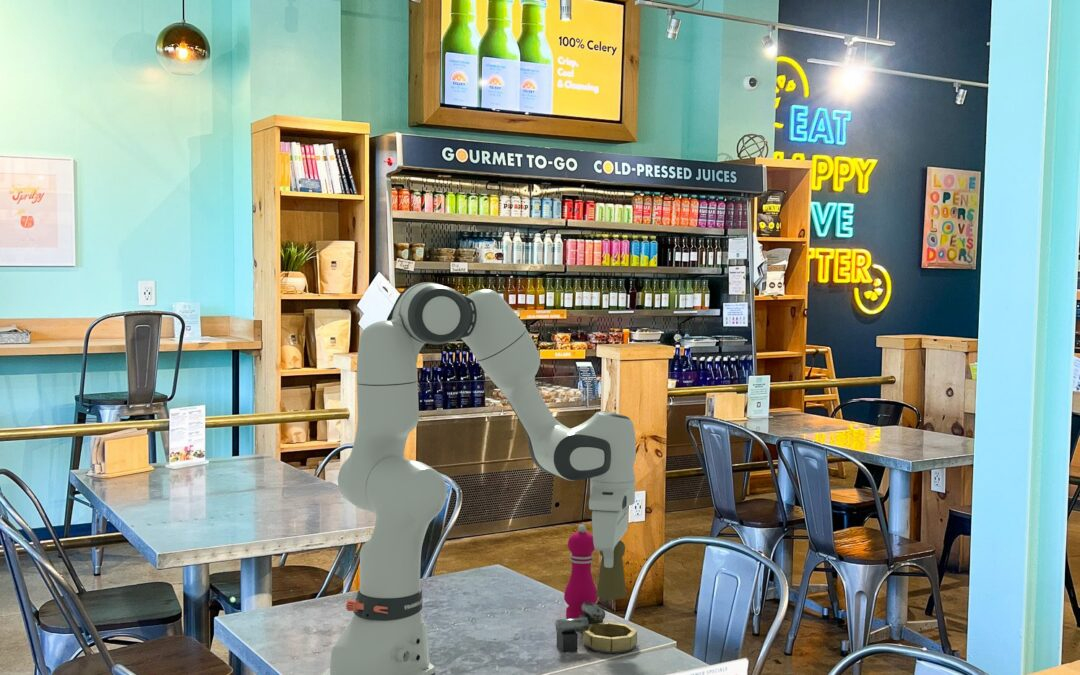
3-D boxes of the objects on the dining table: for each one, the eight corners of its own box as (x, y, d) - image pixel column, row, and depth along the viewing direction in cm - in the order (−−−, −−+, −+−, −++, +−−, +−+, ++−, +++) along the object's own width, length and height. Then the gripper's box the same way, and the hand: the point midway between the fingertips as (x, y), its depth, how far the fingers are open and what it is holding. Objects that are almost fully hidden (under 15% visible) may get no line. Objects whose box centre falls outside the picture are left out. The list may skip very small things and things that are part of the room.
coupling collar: (626, 657, 201) (626, 641, 201) (575, 649, 205) (576, 634, 205) (642, 641, 211) (643, 626, 211) (594, 634, 215) (594, 619, 215)
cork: (610, 601, 204) (611, 545, 203) (589, 594, 208) (590, 539, 208) (633, 595, 207) (633, 540, 207) (611, 589, 212) (612, 535, 212)
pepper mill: (603, 615, 228) (605, 524, 227) (585, 624, 222) (587, 529, 221) (575, 609, 232) (576, 519, 231) (557, 617, 226) (558, 525, 225)
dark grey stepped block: (560, 653, 203) (560, 623, 203) (554, 646, 207) (554, 616, 207) (589, 650, 205) (590, 620, 205) (582, 644, 209) (583, 614, 208)
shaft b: (578, 629, 218) (578, 601, 217) (595, 627, 219) (596, 599, 219) (590, 638, 212) (590, 609, 212) (608, 636, 214) (608, 607, 213)
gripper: (605, 483, 218) (604, 550, 218) (587, 502, 198) (586, 575, 198) (635, 485, 216) (634, 552, 217) (620, 504, 196) (619, 577, 197)
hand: (611, 563), depth 207 cm, fingers closed on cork, 4 cm apart
